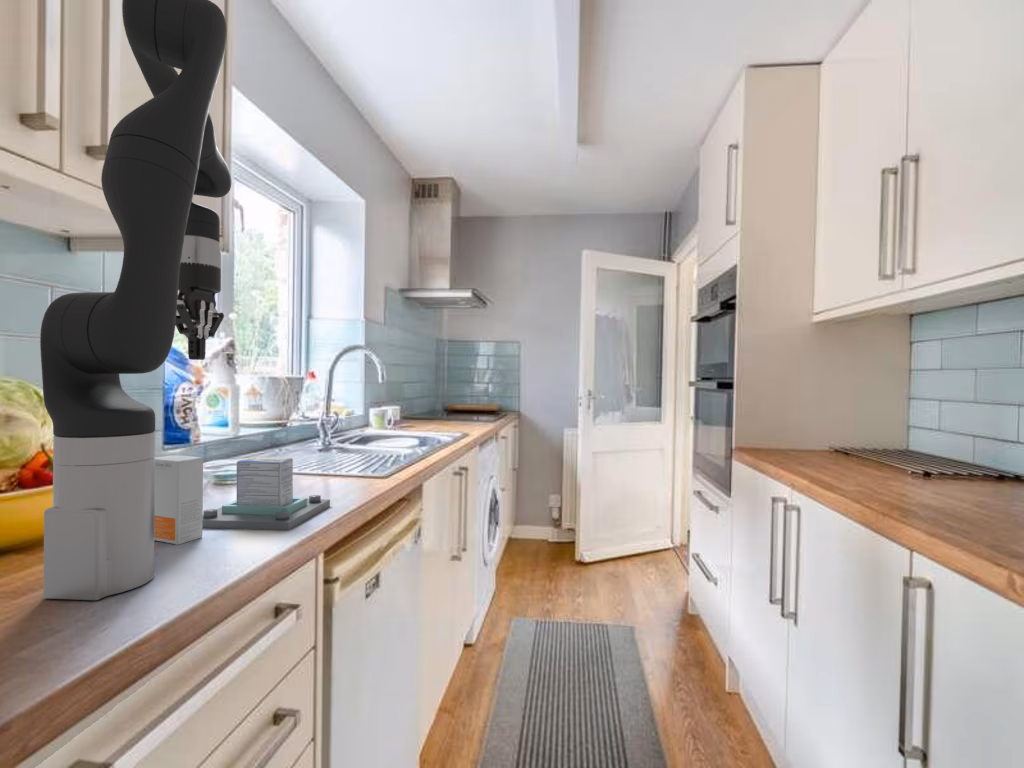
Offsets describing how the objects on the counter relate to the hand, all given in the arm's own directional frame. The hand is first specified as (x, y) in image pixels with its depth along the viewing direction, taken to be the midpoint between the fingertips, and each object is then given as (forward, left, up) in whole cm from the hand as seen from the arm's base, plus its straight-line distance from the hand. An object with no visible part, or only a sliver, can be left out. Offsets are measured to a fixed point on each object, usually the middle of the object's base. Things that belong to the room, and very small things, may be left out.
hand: (196, 359), depth 97 cm
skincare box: (-19, -10, -27) cm, 35 cm away
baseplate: (-5, -16, -27) cm, 32 cm away
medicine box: (-5, -16, -26) cm, 31 cm away
